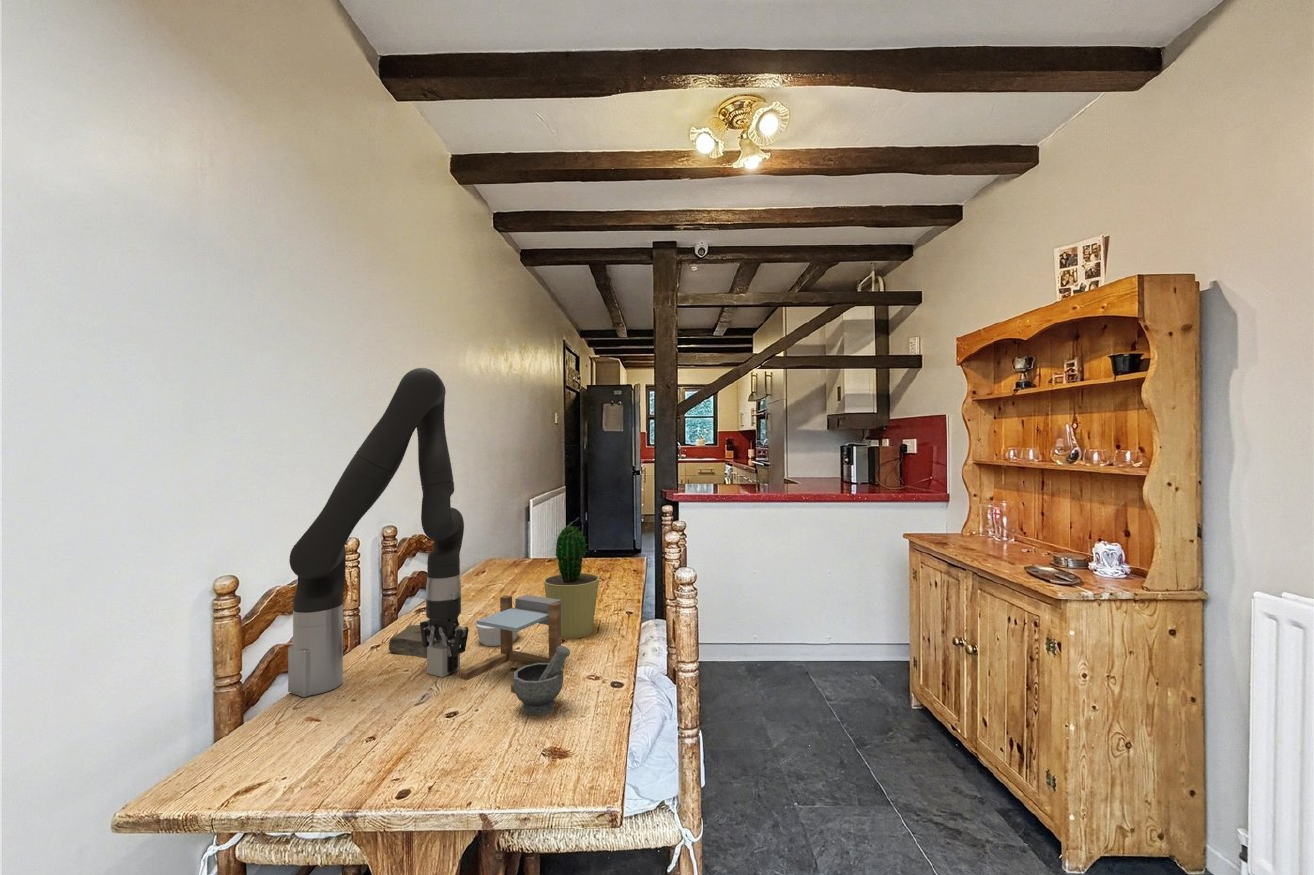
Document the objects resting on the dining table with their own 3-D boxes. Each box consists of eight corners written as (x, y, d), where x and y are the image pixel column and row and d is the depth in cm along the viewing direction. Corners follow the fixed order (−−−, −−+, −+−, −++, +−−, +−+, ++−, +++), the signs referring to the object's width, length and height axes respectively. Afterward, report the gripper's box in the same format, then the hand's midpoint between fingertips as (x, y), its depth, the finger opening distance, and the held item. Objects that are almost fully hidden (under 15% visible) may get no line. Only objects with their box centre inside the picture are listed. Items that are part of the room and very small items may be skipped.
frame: (518, 693, 112) (517, 620, 112) (460, 678, 120) (460, 610, 120) (563, 667, 125) (562, 602, 125) (508, 655, 133) (508, 594, 133)
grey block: (442, 677, 120) (442, 650, 120) (427, 673, 122) (427, 646, 123) (460, 669, 124) (460, 643, 125) (445, 665, 127) (445, 639, 127)
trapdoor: (517, 641, 115) (517, 618, 115) (476, 633, 121) (476, 611, 121) (563, 621, 129) (563, 600, 129) (524, 614, 135) (524, 594, 135)
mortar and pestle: (505, 719, 101) (505, 654, 101) (522, 696, 110) (521, 637, 110) (564, 720, 100) (564, 655, 100) (576, 697, 109) (575, 638, 110)
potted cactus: (576, 645, 139) (575, 529, 140) (532, 636, 147) (531, 526, 148) (610, 628, 152) (609, 522, 153) (568, 620, 160) (567, 519, 161)
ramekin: (467, 645, 140) (467, 625, 141) (493, 632, 151) (493, 613, 151) (503, 650, 137) (503, 629, 137) (527, 635, 147) (527, 616, 148)
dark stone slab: (438, 660, 131) (437, 643, 132) (379, 660, 132) (379, 643, 132) (465, 637, 148) (465, 621, 148) (413, 637, 149) (413, 621, 149)
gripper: (409, 595, 124) (408, 669, 124) (452, 602, 117) (452, 681, 117) (436, 588, 131) (436, 658, 130) (478, 594, 124) (478, 669, 123)
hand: (443, 669), depth 123 cm, fingers closed on grey block, 5 cm apart
